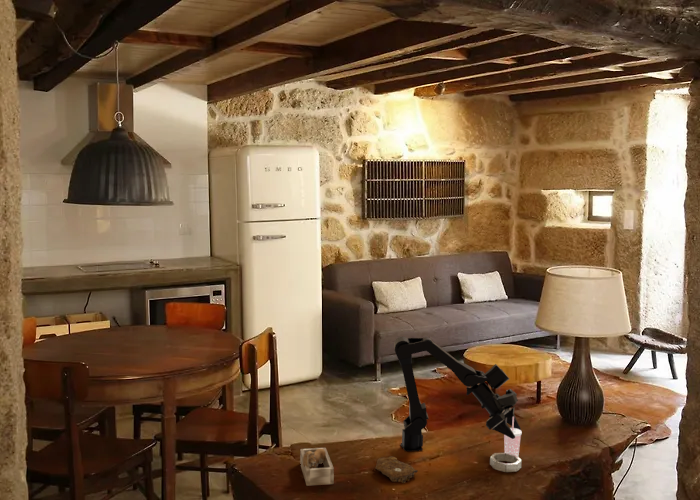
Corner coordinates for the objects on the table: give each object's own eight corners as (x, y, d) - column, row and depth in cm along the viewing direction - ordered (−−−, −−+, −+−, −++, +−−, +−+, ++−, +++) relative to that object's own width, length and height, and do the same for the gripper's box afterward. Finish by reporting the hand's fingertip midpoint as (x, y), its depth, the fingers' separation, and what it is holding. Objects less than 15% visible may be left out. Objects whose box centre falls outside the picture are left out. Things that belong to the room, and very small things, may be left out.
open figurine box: (306, 485, 218) (306, 470, 217) (300, 463, 234) (300, 449, 233) (333, 483, 219) (333, 468, 219) (325, 462, 235) (325, 447, 235)
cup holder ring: (497, 472, 230) (497, 465, 230) (486, 460, 239) (486, 453, 239) (525, 470, 232) (525, 463, 231) (513, 459, 241) (513, 452, 241)
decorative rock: (364, 471, 230) (396, 489, 219) (364, 459, 230) (396, 477, 218) (390, 461, 237) (422, 478, 226) (391, 449, 237) (422, 466, 225)
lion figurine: (314, 482, 219) (314, 455, 218) (298, 480, 221) (298, 452, 220) (331, 464, 233) (331, 438, 232) (316, 462, 235) (316, 436, 234)
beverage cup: (524, 457, 243) (526, 417, 241) (511, 461, 239) (513, 421, 238) (511, 451, 248) (512, 412, 246) (498, 454, 244) (500, 415, 243)
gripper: (497, 391, 234) (529, 429, 230) (510, 377, 251) (540, 412, 247) (472, 410, 238) (503, 448, 235) (487, 395, 255) (516, 430, 251)
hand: (517, 434), depth 242 cm, fingers open, 8 cm apart
